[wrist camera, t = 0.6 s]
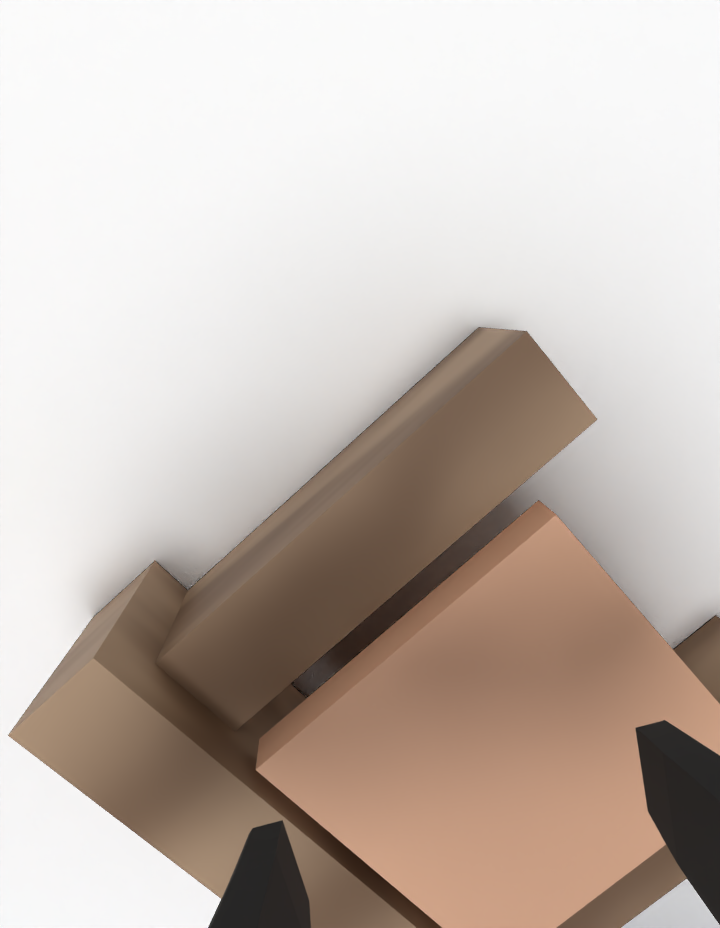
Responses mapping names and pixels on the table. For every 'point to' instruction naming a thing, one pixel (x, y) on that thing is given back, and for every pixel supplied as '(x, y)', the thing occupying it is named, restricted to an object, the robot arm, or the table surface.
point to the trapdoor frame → (309, 635)
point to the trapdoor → (496, 736)
